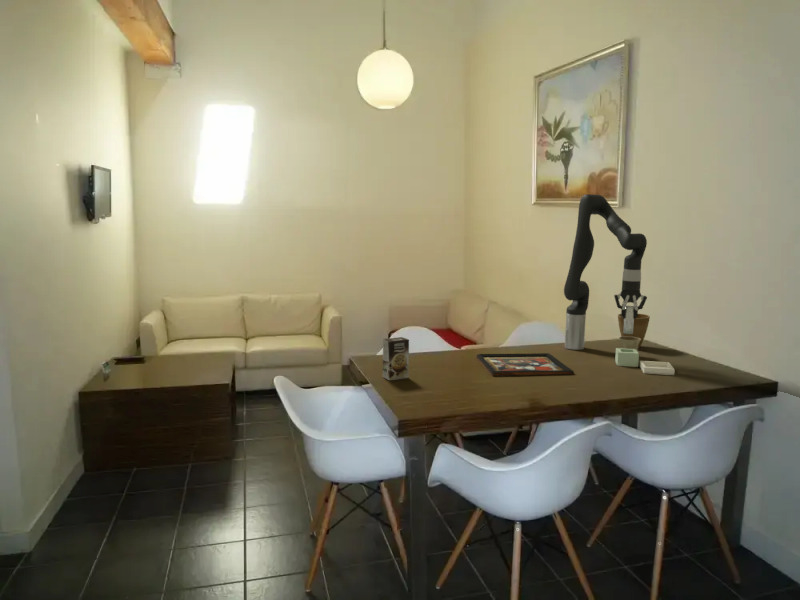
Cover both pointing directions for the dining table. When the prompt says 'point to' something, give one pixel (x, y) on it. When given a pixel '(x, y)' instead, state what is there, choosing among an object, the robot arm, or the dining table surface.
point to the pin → (629, 319)
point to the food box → (395, 358)
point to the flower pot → (629, 342)
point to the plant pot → (636, 327)
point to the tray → (656, 367)
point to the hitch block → (626, 357)
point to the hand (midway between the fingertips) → (629, 317)
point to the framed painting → (523, 364)
